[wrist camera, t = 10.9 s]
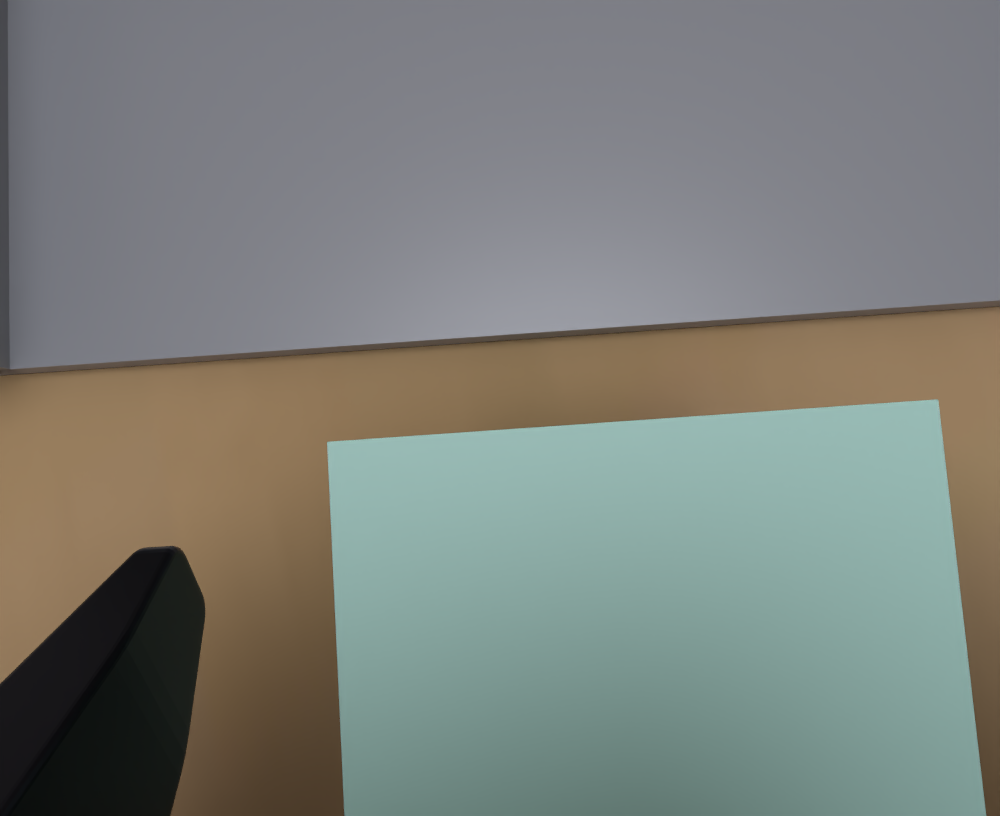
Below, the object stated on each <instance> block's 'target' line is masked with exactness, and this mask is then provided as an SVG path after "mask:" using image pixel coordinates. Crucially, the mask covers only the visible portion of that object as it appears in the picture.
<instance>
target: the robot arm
mask: <svg viewBox="0 0 1000 816" xmlns="http://www.w3.org/2000/svg"><path fill="white" fill-rule="evenodd" d="M204 621H205V603H204V598H203V595H202V592H201V590H200V588H199V585H198V583H197V581H196V578H195V576H194V574H193V572H192V569H191V567H190V565H189V563H188V560H187V558H186V556H185V554H184V552H183V551H182V550H181V549H180V548H178V547H175V546H164V547H147V548H142V549H139V550H138V551H136V552H134V553H133V554H132V555H131V556H130V557H129V558H128V559H127V560H126V561H125V562H124V563H123V564H122V565H121V566H120V567H119V568H118V569H117V570H116V571H115V572H114V573H113V574H112V575H111V576H110V577H109V578H108V579H107V580H106V581H104V582H103V583H102V584H101V585H100V586H99V587H98V588H97V589H96V590H95V591H94V592H93V593H92V594H91V595H90V596H89V597H88V598H87V599H86V600H85V601H84V602H83V603H82V604H81V605H80V606H79V607H78V608H77V609H76V610H75V611H74V612H73V613H72V614H71V615H70V616H69V617H68V618H67V619H66V620H65V621H64V622H63V623H62V624H61V625H60V626H59V627H58V628H57V629H56V630H55V631H54V632H53V633H52V634H50V635H49V636H48V637H47V638H46V639H45V640H44V641H43V642H42V643H41V644H40V645H39V646H38V647H37V648H36V649H35V650H34V651H33V652H32V653H31V654H30V655H29V656H28V657H27V658H26V659H25V660H24V661H23V662H22V663H21V664H20V665H19V666H18V667H17V668H16V669H15V670H14V671H13V672H12V673H11V674H10V675H9V676H8V677H7V678H6V679H5V680H4V681H3V682H2V683H1V684H0V816H170V815H171V811H172V807H173V803H174V799H175V795H176V791H177V788H178V784H179V780H180V776H181V771H182V767H183V763H184V758H185V754H186V748H187V742H188V736H189V729H190V722H191V715H192V708H193V700H194V693H195V686H196V679H197V672H198V665H199V657H200V650H201V643H202V636H203V629H204Z"/></svg>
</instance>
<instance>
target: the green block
mask: <svg viewBox="0 0 1000 816" xmlns="http://www.w3.org/2000/svg"><path fill="white" fill-rule="evenodd" d="M327 447H328V469H329V491H330V513H331V534H332V556H333V578H334V599H335V621H336V643H337V665H338V686H339V708H340V730H341V751H342V773H343V795H344V816H986V810H985V802H984V793H983V784H982V776H981V767H980V758H979V750H978V741H977V732H976V724H975V715H974V706H973V698H972V689H971V680H970V672H969V663H968V654H967V646H966V637H965V628H964V620H963V611H962V602H961V594H960V585H959V576H958V568H957V559H956V550H955V542H954V533H953V524H952V516H951V507H950V498H949V490H948V481H947V472H946V464H945V455H944V446H943V438H942V429H941V420H940V412H939V403H938V400H923V401H909V402H895V403H880V404H866V405H851V406H837V407H823V408H808V409H794V410H779V411H765V412H751V413H736V414H722V415H707V416H693V417H679V418H664V419H650V420H635V421H621V422H607V423H592V424H578V425H563V426H549V427H535V428H520V429H506V430H491V431H477V432H463V433H448V434H434V435H419V436H405V437H391V438H376V439H362V440H347V441H333V442H327Z"/></svg>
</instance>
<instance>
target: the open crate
mask: <svg viewBox="0 0 1000 816" xmlns="http://www.w3.org/2000/svg"><path fill="white" fill-rule="evenodd" d="M995 306H1000V0H0V375H13V374H28V373H42V372H56V371H71V370H85V369H100V368H114V367H129V366H143V365H157V364H172V363H186V362H201V361H215V360H230V359H244V358H259V357H273V356H287V355H302V354H316V353H331V352H345V351H360V350H374V349H388V348H403V347H417V346H432V345H446V344H461V343H475V342H489V341H504V340H518V339H533V338H547V337H562V336H576V335H591V334H605V333H619V332H634V331H648V330H663V329H677V328H692V327H706V326H720V325H735V324H749V323H764V322H778V321H793V320H807V319H822V318H836V317H850V316H865V315H879V314H894V313H908V312H923V311H937V310H951V309H966V308H980V307H995Z"/></svg>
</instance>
